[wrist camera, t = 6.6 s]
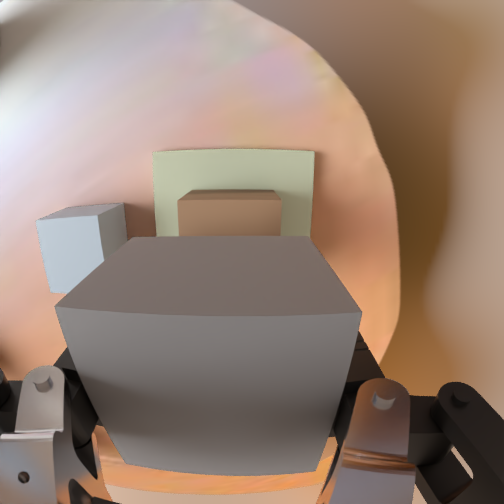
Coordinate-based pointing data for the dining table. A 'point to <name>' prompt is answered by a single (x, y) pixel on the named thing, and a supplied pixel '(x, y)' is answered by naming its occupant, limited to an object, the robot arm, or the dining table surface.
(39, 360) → the dining table surface
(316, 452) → the grey block
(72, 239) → the blue block
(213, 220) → the walnut block
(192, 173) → the plate
